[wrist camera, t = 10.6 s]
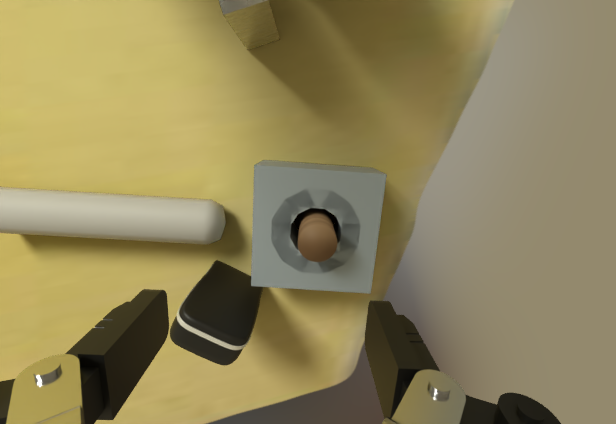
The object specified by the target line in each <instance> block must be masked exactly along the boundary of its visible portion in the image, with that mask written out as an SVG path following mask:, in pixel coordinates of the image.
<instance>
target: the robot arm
mask: <svg viewBox="0 0 616 424" xmlns="http://www.w3.org/2000/svg"><path fill="white" fill-rule="evenodd" d="M168 330H169V319H168V305H167V294H166V292H165V291H164V290H149V289H144V290H142V291H141V292H140V293H139V294H138V295H137V296H136V297H135V298H134V299H133V300H132V301H131V302H125V303H124V304H122V305H120V306H118V307H116V308H114V309H113V310H112V311H111V312H110V313H108V314H107V315H106V316H105V317H104V318H103V320H101V321H100V322H99V323H98V324H97V325H96V326H95V328H92V329H91V330H90V331H89V332H88V333H87V334H86V335H85V336H84V337H83V338H82V339H81V340H80V341H78V342H77V343H76V344H75V345H74V346H73V347H72V348H71V349H70V350H69V351H68V352H67V353H66V354H61V355H55V356H51V357H48V358H45V359H42V360H40V361H38V362H36V363H34V364H32V365H30V366H29V367H27V368H26V369H25V370H23V371H22V372H21V373H20V374H19V375H18V376H17V378H16V379H12V380H6V381H1V382H0V424H94V423H95V422H96V420H113V419H114V418H115V416H116V415H117V413H118V412H119V410H120V409H121V407H122V406H123V404H124V403H125V401H126V400H127V398H128V397H129V395H130V394H131V392H132V391H133V389H134V388H135V386H136V385H137V383H138V382H139V380H140V378H141V377H142V375H143V374H144V372H145V371H146V369H147V368H148V366H149V365H150V363H151V362H152V360H153V359H154V357H155V356H156V354H157V353H158V351H159V350H160V348H161V347H162V345H163V344H164V342H165V340H166V338H167V335H168ZM365 349H366V353H367V357H368V360H369V364H370V368H371V371H372V375H373V378H374V382H375V385H376V389H377V393H378V397H379V400H380V404H381V408H382V411H383V415H384V421H383V423H382V424H561V423H560V422H559V420H558V419H557V418H556V417H555V416H554V415H553V414H552V413H551V412H550V411H549V410H548V409H547V408H546V407H544V406H543V405H542V404H540V403H538V402H537V401H535V400H533V399H531V398H529V397H527V396H524V395H521V394H517V393H505V394H503V395H501V396H500V398H499V401H498V404H497V405H496V404H492V403H489V402H486V401H483V400H479V399H476V398H473V397H469V396H467V395H465V392H464V390H463V389H462V387H461V386H460V385H459V384H458V383H457V382H456V381H455V380H454V379H453V378H451V377H450V376H448V375H446V374H445V373H442V372H440V370H439V368H438V367H437V365H436V363H435V361H434V360H433V358H432V356H431V354H430V352H429V351H428V349H427V347H426V345H425V344H424V343H423V340H422V338H421V336H420V335H419V333H418V331H417V329H416V327H415V326H414V324H413V323H412V322H411V321H410V320H409V319H407V318H406V317H405V316H404V315H396V313H395V311H394V309H393V307H392V305H391V303H390V302H389V301H370V302H369V307H368V315H367V323H366V331H365Z"/></svg>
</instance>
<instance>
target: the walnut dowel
mask: <svg viewBox="0 0 616 424" xmlns="http://www.w3.org/2000/svg"><path fill="white" fill-rule="evenodd" d="M298 249H299V251H300V253H301V254H302V256H303V257H304V258H306V259H307V260H309V261H312V262H322V261H325V260H327V259H329V258H330V257H332V256H333V254H334V253H335V251H336V249H337V238H336V234H335V231H334V227H333V224H332V220H331V217H330V213H329V211H327V210H326V209H320V208H310V209H307V210H305V211H303V212H301V214H300V224H299V234H298Z"/></svg>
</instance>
